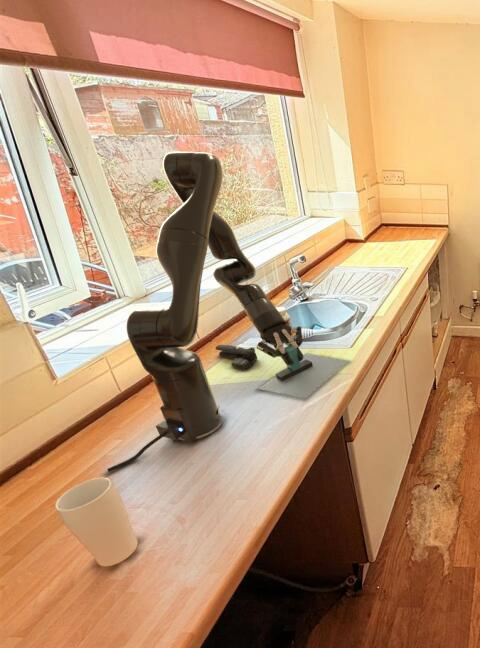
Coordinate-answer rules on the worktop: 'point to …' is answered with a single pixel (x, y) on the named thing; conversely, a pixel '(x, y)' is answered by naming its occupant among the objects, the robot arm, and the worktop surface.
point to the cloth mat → (306, 377)
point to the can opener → (238, 355)
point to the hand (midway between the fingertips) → (296, 362)
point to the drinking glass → (98, 520)
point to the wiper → (295, 367)
